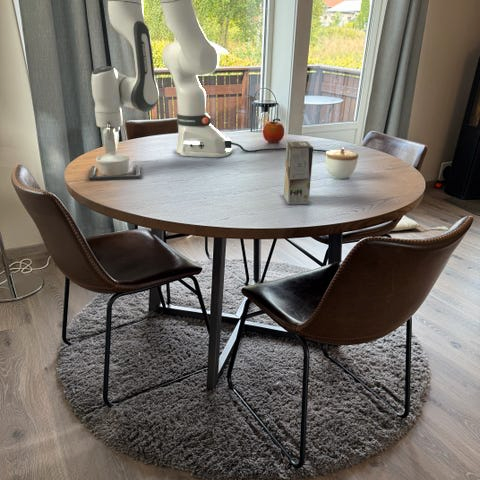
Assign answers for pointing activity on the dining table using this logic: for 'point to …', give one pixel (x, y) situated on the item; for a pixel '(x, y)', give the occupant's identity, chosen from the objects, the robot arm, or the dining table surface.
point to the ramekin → (113, 164)
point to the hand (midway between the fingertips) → (114, 161)
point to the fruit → (273, 131)
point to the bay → (92, 178)
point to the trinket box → (341, 163)
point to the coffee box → (298, 172)
